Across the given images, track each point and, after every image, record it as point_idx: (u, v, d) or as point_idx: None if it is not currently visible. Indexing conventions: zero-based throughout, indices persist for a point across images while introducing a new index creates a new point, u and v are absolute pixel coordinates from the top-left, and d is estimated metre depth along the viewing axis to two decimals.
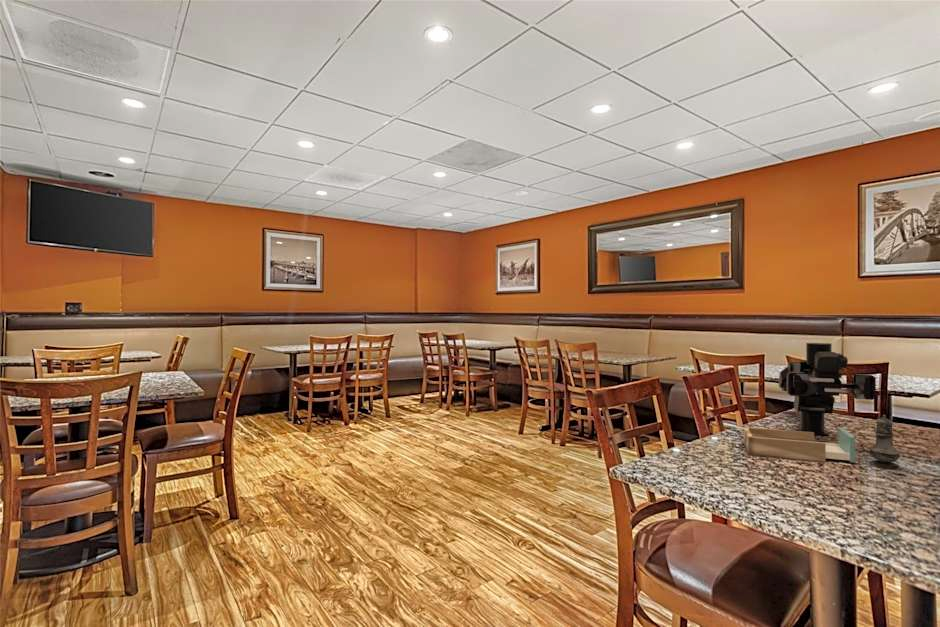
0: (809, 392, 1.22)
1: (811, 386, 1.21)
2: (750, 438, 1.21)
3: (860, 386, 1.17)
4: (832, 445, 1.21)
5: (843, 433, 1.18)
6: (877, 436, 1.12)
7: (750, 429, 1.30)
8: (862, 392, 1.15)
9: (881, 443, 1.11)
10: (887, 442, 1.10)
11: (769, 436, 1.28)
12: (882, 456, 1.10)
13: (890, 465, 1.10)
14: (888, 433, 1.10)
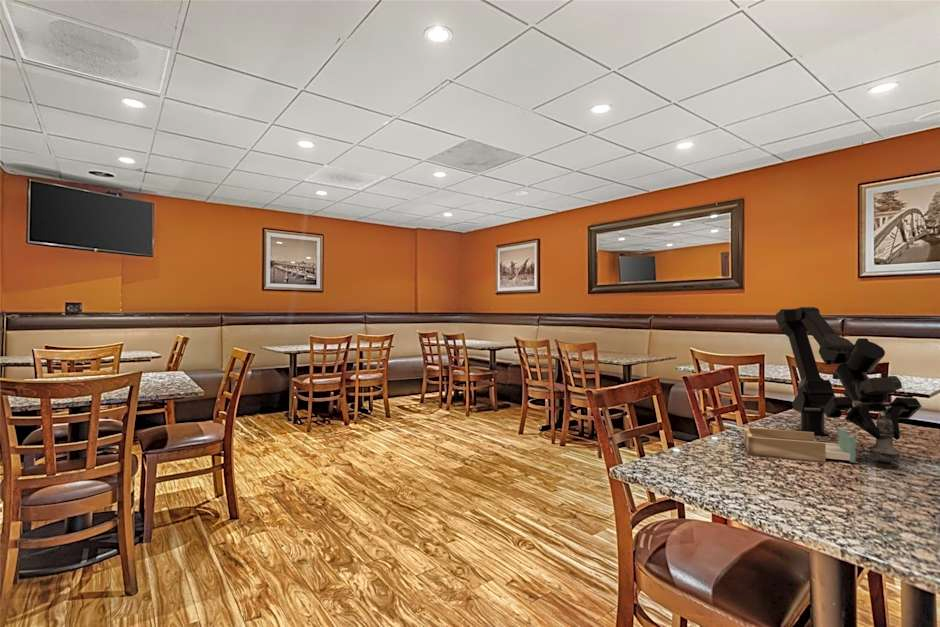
0: (866, 430, 1.14)
1: (873, 430, 1.12)
2: (750, 438, 1.21)
3: (896, 427, 1.11)
4: (832, 445, 1.21)
5: (843, 433, 1.18)
6: None
7: (750, 429, 1.30)
8: (897, 439, 1.10)
9: (881, 443, 1.11)
10: (887, 442, 1.10)
11: (769, 436, 1.28)
12: (882, 456, 1.10)
13: (890, 465, 1.10)
14: (888, 433, 1.10)
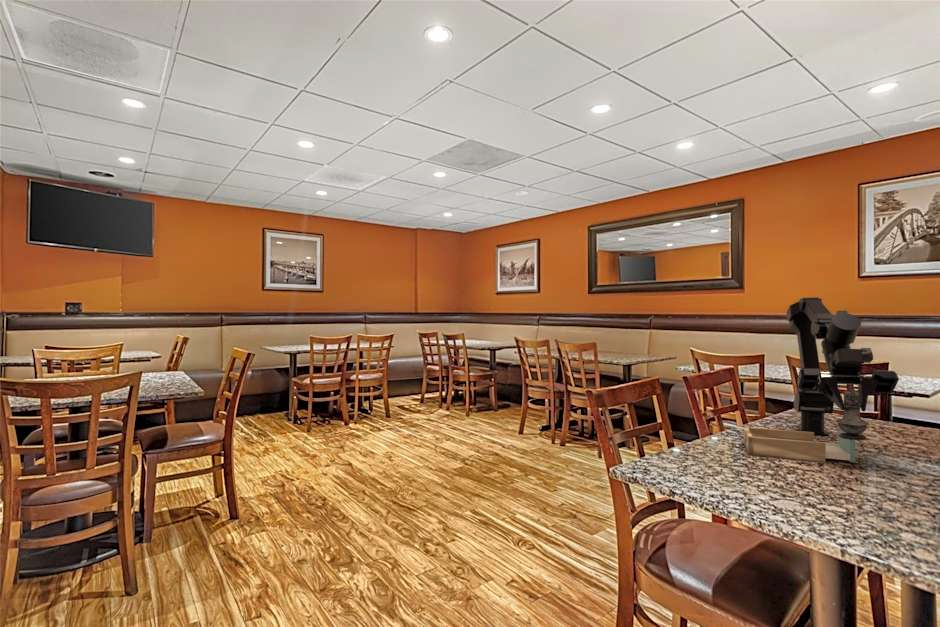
0: (834, 402, 1.13)
1: (837, 400, 1.12)
2: (750, 438, 1.21)
3: (863, 399, 1.10)
4: (832, 445, 1.21)
5: None
6: (844, 408, 1.11)
7: (750, 429, 1.30)
8: (863, 410, 1.09)
9: (846, 414, 1.11)
10: (852, 414, 1.10)
11: (769, 436, 1.28)
12: (846, 427, 1.10)
13: (856, 436, 1.09)
14: (853, 404, 1.10)
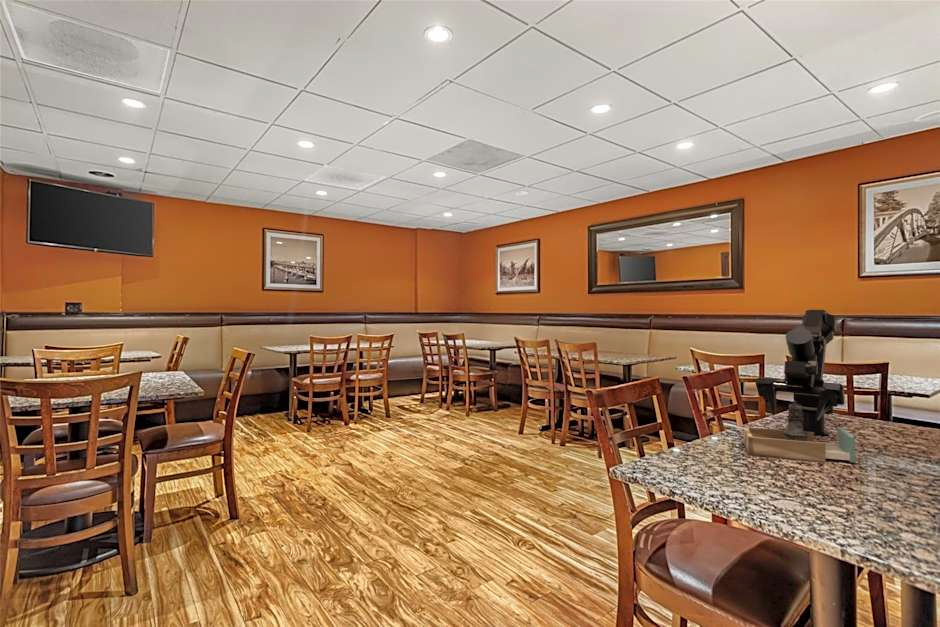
0: None
1: None
2: (750, 438, 1.21)
3: (818, 409, 1.18)
4: (832, 445, 1.21)
5: (843, 433, 1.18)
6: None
7: (750, 429, 1.30)
8: (816, 419, 1.17)
9: (788, 425, 1.22)
10: (792, 425, 1.21)
11: (769, 436, 1.28)
12: (785, 437, 1.21)
13: None
14: (793, 416, 1.21)
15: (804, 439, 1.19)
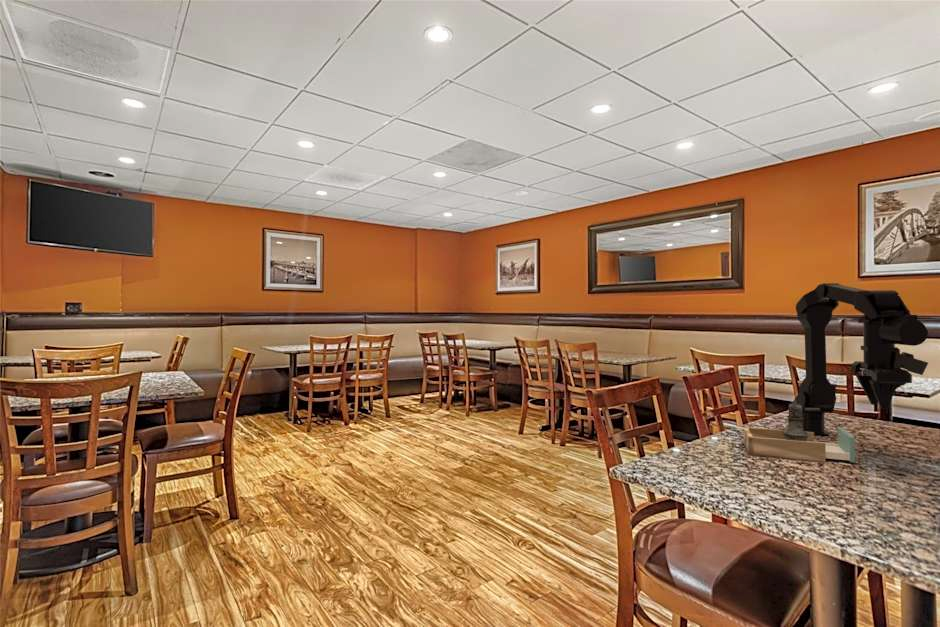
0: (879, 398, 1.11)
1: (888, 402, 1.11)
2: (750, 438, 1.21)
3: None
4: (832, 445, 1.21)
5: (843, 433, 1.18)
6: None
7: (750, 429, 1.30)
8: (873, 404, 1.17)
9: (788, 425, 1.22)
10: (792, 425, 1.21)
11: (769, 436, 1.28)
12: (785, 437, 1.21)
13: None
14: (793, 416, 1.21)
15: (804, 439, 1.19)
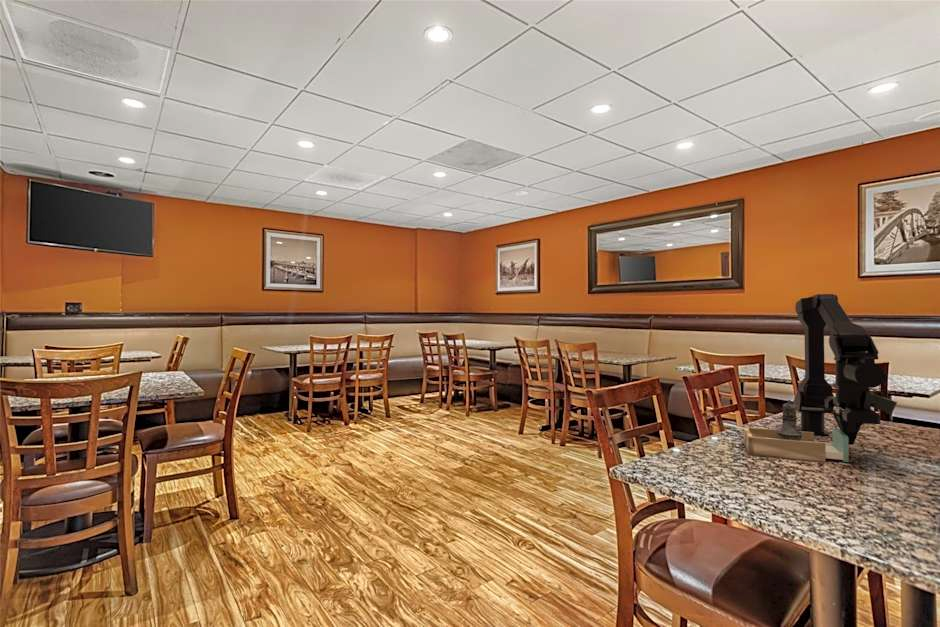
0: (845, 434, 1.16)
1: (854, 437, 1.16)
2: (750, 438, 1.21)
3: None
4: (826, 444, 1.22)
5: (837, 432, 1.18)
6: None
7: (750, 429, 1.30)
8: None
9: (783, 425, 1.22)
10: (786, 424, 1.21)
11: (769, 436, 1.28)
12: (780, 436, 1.22)
13: None
14: (787, 416, 1.21)
15: (798, 439, 1.20)
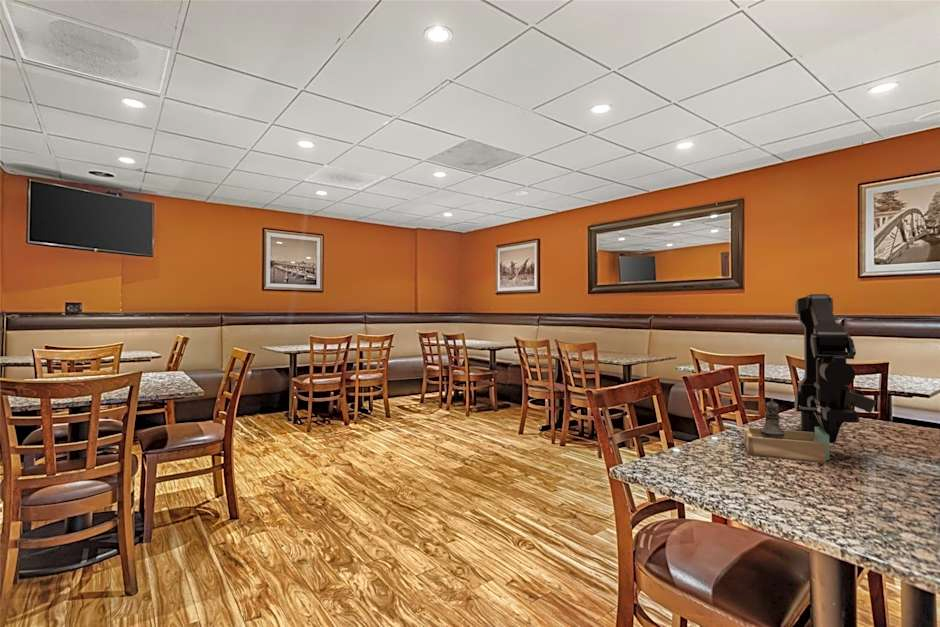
0: (827, 432, 1.18)
1: (835, 436, 1.17)
2: (750, 438, 1.21)
3: None
4: None
5: (818, 431, 1.20)
6: None
7: (750, 429, 1.30)
8: None
9: (765, 423, 1.24)
10: (769, 423, 1.23)
11: None
12: (762, 435, 1.23)
13: None
14: (770, 415, 1.23)
15: (780, 437, 1.21)
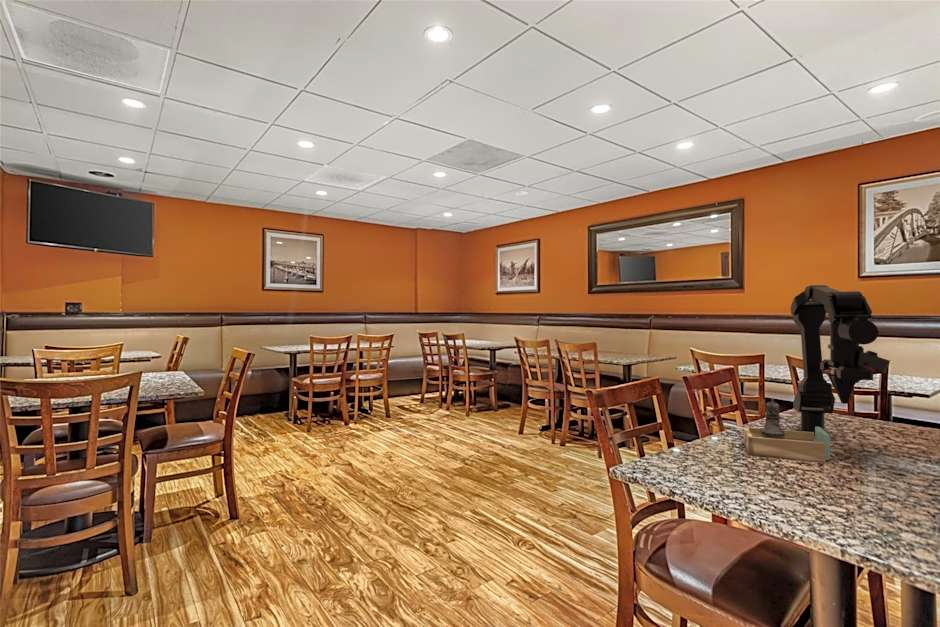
0: (840, 393, 1.19)
1: (848, 396, 1.18)
2: (750, 438, 1.21)
3: None
4: None
5: (819, 431, 1.20)
6: None
7: (750, 429, 1.30)
8: None
9: (766, 423, 1.24)
10: (770, 423, 1.23)
11: None
12: (763, 435, 1.23)
13: None
14: (770, 415, 1.23)
15: (781, 437, 1.21)
